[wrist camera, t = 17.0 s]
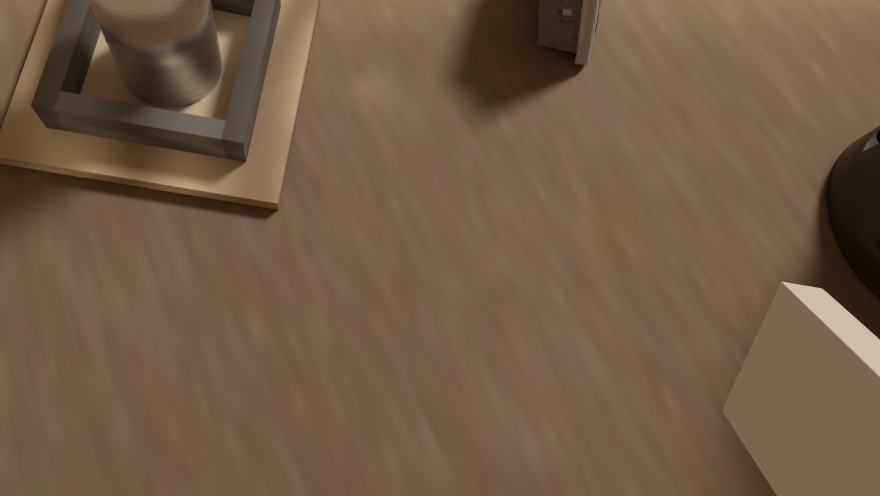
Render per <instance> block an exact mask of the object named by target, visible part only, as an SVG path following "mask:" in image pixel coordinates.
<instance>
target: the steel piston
mask: <svg viewBox="0 0 880 496" xmlns="http://www.w3.org/2000/svg"><path fill="white" fill-rule="evenodd" d="M88 1H89V3H90V5H91V8H92V10H93V12H94V15H95V17H96V19H97V22H98V24H99V26H100V29H101V31H102V33H103V36H104V38H105V40H106V43H107V45H108V47H109V50H110V52H111V54H112V57H113V59H114V61H115V64H116V66H117V68H118V71H119V73H120V75H121V78H122V80H123V82H124V84H125V85H126V87H127V88H128V89H129V91H130V92H131V93H132V94H134V95H135V96H136V97H137V98H139V99H140V100H142V101H144V102H146V103H148V104H151V105H154V106H158V107H165V108H177V107H184V106H188V105H191V104H194V103H196V102H198V101H200V100H202V99H203V98H205V97H206V96H207V95H208V94H210V93H211V92H212V90H213V89H214V88H215V87H216V85H217V84H218V82H219V80H220V77H221V73H222V59H221V53H220V48H219V42H218V37H217V31H216V26H215V20H214V15H213V9H212V4H211V0H88Z"/></svg>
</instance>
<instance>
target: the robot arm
mask: <svg viewBox="0 0 880 496" xmlns="http://www.w3.org/2000/svg"><path fill="white" fill-rule="evenodd" d="M829 211H830V217H831V222H832V225H833V229H834V232H835V235H836V237H837V240H838V242H839V245H840V247H841V249H842V251H843V253H844V254H845V256H846V258H847V260H848V261H849V263H850V264H851V266H852V267H853V269H854V270H855V271H856V273H857V274H858V275H859V276H860V278H861V279H862V280H863V281H864V282H865V283H866V284H867V286H868V287H869V288H870V289H871V290H872V291H874V292H875V293H876V294H877V295H878V296H879V297H880V126H879V127H877V128H875V129H874V130H872V131H871V132H869V133H867V134H866V135H864V136H863V137H861V138H859V139H858V140H856V141H855V142H854V143H852V144H851V145H850V146H849V147H848V148H847V149H846V150H845V151H844V152H843V153H842V154H841V156H840V157H839V159H838V161H837V162H836V164H835V167H834V169H833V172H832V175H831V179H830V184H829ZM722 412H723V413H724V415H725V416H726V418H727V419H728V421H729V422H730V424H731V425H732V427H733V429H734V430H735V432H736V433H737V435H738V436H739V438H740V439H741V441H742V442H743V444H744V446H745V447H746V449H747V450H748V452H749V453H750V455H751V456H752V458H753V459H754V461H755V463H756V464H757V466H758V467H759V469H760V470H761V472H762V473H763V475H764V476H765V478H766V480H767V481H768V483H769V484H770V486H771V487H772V489H773V490H774V492H775V493H776V495H777V496H880V339H878V338H877V337H876V336H875V335H874V334H873V333H872V332H871V331H869V330H868V329H867V328H866V327H865V326H864V325H863V324H862V323H860V322H859V321H858V320H857V319H856V318H855V317H854V316H853V315H851V314H850V313H849V312H848V311H847V310H846V309H845V308H844V307H842V306H841V305H840V304H839V303H838V302H837V301H836V300H835V299H833V298H832V297H831V296H830V295H829V294H828V293H827V292H826V291H824V290H823V289H822V288H816V287H810V286H804V285H798V284H792V283H786V282H781V284H780V286H779V288H778V290H777V292H776V294H775V297H774V299H773V301H772V303H771V305H770V307H769V310H768V312H767V314H766V316H765V318H764V320H763V322H762V325H761V327H760V329H759V331H758V333H757V335H756V338H755V340H754V342H753V344H752V346H751V348H750V351H749V353H748V355H747V357H746V359H745V361H744V364H743V366H742V368H741V370H740V372H739V374H738V377H737V379H736V381H735V383H734V385H733V387H732V390H731V392H730V394H729V396H728V398H727V400H726V402H725V405H724V407H723V409H722Z"/></svg>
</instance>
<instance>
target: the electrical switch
mask: <svg viewBox="0 0 880 496" xmlns="http://www.w3.org/2000/svg"><path fill="white" fill-rule="evenodd" d="M601 2H602V0H540V1H539V23H538V45H537V46H543V47H550V48H555V49H558V50H561V51H569V52H572V53H575V54H576V59H575V64H582V65H586V64H587V63H588V60H589V58H590V55H591V50H592V46H593V41H594V36H595V32H596V27H597V22H598V16H599V11H600V7H601Z"/></svg>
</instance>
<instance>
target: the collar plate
mask: <svg viewBox="0 0 880 496" xmlns="http://www.w3.org/2000/svg"><path fill="white" fill-rule="evenodd" d="M211 4H212V9H213V15H214V20H215V26H216V31H217V37H218V42H219V48H220V53H221V59H222V73H221V77H220V80H219V82H218V84H217V85H216V87H215V88H214V89H213V90H212V92H211V93H210V94H208V95H207V96H206V97H205V98H203V99H202V100H200V101H198V102H196V103H194V104H191V105H188V106H184V107H177V108H165V107H158V106H154V105H151V104H148V103H146V102H144V101H142V100H140V99H139V98H137V97H136V96H135V95H134V94H132V93H131V92H130V91H129V89H128V88H127V87H126V85H125V84H124V82H123V80H122V78H121V75H120V73H119V71H118V68H117V66H116V64H115V61H114V59H113V57H112V54H111V52H110V50H109V47H108V45H107V43H106V40H105V38H104V36H103V33H102V31H101V29H100V26H99V24H98V22H97V19H96V17H95V15H94V12H93V10H92V8H91V5H90V3H89V1H88V0H48V1H47V4H46V7H45V9H44V12H43V15H42V18H41V20H40V23H39V26H38V28H37V31H36V34H35V37H34V39H33V42H32V45H31V48H30V50H29V53H28V56H27V59H26V61H25V64H24V67H23V70H22V72H21V75H20V78H19V81H18V83H17V86H16V89H15V91H14V94H13V97H12V100H11V102H10V105H9V108H8V111H7V113H6V116H5V119H4V122H3V124H2V127H1V130H0V164H3V165H10V166H16V167H22V168H28V169H34V170H40V171H46V172H52V173H58V174H64V175H70V176H76V177H82V178H88V179H95V180H101V181H107V182H113V183H119V184H125V185H131V186H137V187H143V188H149V189H155V190H161V191H167V192H173V193H179V194H186V195H192V196H198V197H204V198H210V199H216V200H222V201H228V202H234V203H240V204H246V205H252V206H258V207H264V208H270V209H277V210H278V209H279V204H280V199H281V194H282V189H283V184H284V179H285V175H286V170H287V165H288V160H289V155H290V150H291V145H292V140H293V135H294V130H295V125H296V120H297V115H298V110H299V105H300V100H301V95H302V90H303V85H304V80H305V75H306V70H307V65H308V60H309V55H310V50H311V45H312V40H313V35H314V30H315V25H316V20H317V15H318V10H319V5H320V0H211Z"/></svg>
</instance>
